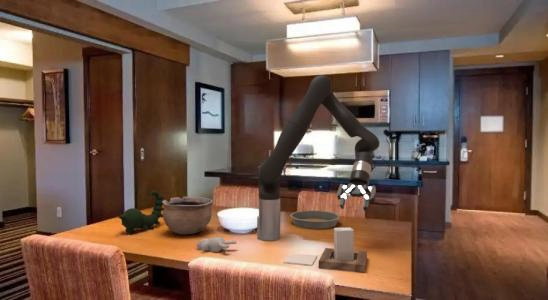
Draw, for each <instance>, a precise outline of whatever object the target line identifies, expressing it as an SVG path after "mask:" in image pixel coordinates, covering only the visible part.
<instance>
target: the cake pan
mask: <svg viewBox="0 0 548 300" xmlns="http://www.w3.org/2000/svg"><path fill="white" fill-rule="evenodd" d="M289 216H290V218H292V221H293V225H294V226H296V227H298V228H303V229H309V228H310V230H323V229H325V228H326V229H331V228H335V227H336V226H337V222H338V220H339V219H340V218H341V216H340V215H339V214H337V213H335V212H331V211H326V210H300V211H299V210H298V211H296V212H295V211H294V212H292V213H291V214H290V215H289ZM310 219H321V220H323V221H309V220H310ZM324 220H326V221H324ZM326 229H325V230H326Z"/></svg>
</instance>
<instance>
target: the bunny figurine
mask: <svg viewBox="0 0 548 300" xmlns="http://www.w3.org/2000/svg"><path fill="white" fill-rule="evenodd" d="M235 244H238V242H237V240H235V239H234V240H229V241H226V240H225V239H224V237H223V236H215V237H212V238H210V237H206V238H204V239H201V240H199V241H198V242H196V245H195V246H196V248H198V250H199V251H203V252H204V251H209V252H211V253H219V252H220V251H223V250H227V249H229V248H230V245H235Z"/></svg>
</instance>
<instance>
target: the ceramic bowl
mask: <svg viewBox="0 0 548 300" xmlns="http://www.w3.org/2000/svg"><path fill="white" fill-rule="evenodd" d="M169 200H170V201H167V200H166V199H163V200H162V201H163V204H162V206H164V207H163V208H164V210H163V212H162V214H163V217H162V219H163V221H164V224H165V225H166V227H167V228H168V229H169V230H170V231H172V233H174V234H177V235H183V236H184V235H193V234H197V233H201V231H203V230H204V229H205V228H206V227H207V226H208V225H209V224H210V221H211V220H212V215H213V214H212V213H213V212H212V204H213V199H211V198H208V197H199V196H183V197H182V198H181V197H177V196H176V197H170V199H169Z"/></svg>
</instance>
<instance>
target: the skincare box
mask: <svg viewBox="0 0 548 300" xmlns="http://www.w3.org/2000/svg"><path fill="white" fill-rule="evenodd" d="M354 232H355V230H354V229H353V228H352V227H333V243H334V244H333V249H334V258H333V259H336V260H347V261H354V250H355V240H354V239H355V237H354V235H355V234H354Z"/></svg>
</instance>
